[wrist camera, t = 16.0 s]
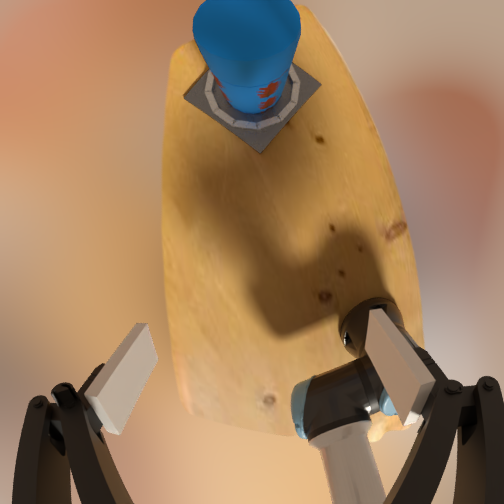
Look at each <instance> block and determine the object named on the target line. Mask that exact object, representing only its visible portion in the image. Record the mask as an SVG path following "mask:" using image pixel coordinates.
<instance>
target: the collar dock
mask: <svg viewBox="0 0 504 504" xmlns="http://www.w3.org/2000/svg"><path fill="white" fill-rule="evenodd" d="M321 85H322V84H320V83H319V82H318V81H317V80H315V79H314V78H313V77H311V76H310V75H309V74H307V73H306V72H305V71H303V70H302V69H301V68H299V67H298V66H297V65H295V64H294V63H292V64H291V67H290V70H289V73H288V76H287V80H286V83H285V86H284V89H283V92H282V94H281V97H280V98H279V100H278V101H277V102H276V104H275V105H274V106H273V107H272V108H270V109H268V110H266V111H265V112H261V113H256V114H250V113H243V112H241V111H239V110H237V109H235V108H233V107H232V106H231V105H230V104H229V103H228V101H227V100H226V99H225V98H224V96H223V94H222V92H221V90H220V88H219V86H218V84H217V82H216V80H215V78H214V76H213V75H212V73H211V71H210V69H209V70H208V71H207V72H206V73H205V74H204V75H203V76H202V77H201V78H200V80H199V81H198V82H197V83H196V84H195V85H194V87H193V88H192V89H191V90H190V91H189V92H188V94H187V95H186V96H185V97H184V99H185V100H187V101H188V102H190V103H191V104H193V105H194V106H195V107H197V108H198V109H200V110H201V111H203V112H204V113H206V114H207V115H209V116H210V117H211V118H213V119H214V120H216V121H217V122H218V123H220V124H221V125H223V126H224V127H225V128H227V129H228V130H229V131H231V132H232V133H234V134H235V135H236V136H238V137H239V138H240V139H242V140H243V141H244V142H246V143H247V144H248V145H250V146H251V147H252V148H253V149H255V150H256V151H257V152H259V153H260V154H261V152H262V151H263V150H264V149H265V148H266V147H267V145H268V144H269V143H270V142H271V141H272V139H273V138H274V137H275V136H276V135H277V134H278V133H279V131H280V130H281V129H282V128H283V127H284V126H285V124H286V123H287V122H288V121H289V120H290V119H291V118H292V117H293V115H294V114H295V113H296V112H297V111H298V110H299V109H300V108H301V107H302V105H303V104H304V103H305V102H306V101H307V100H308V99H309V98H310V97H311V96H312V94H313V93H314V92H315V91H316V90H317V89H318V88H319V87H320V86H321Z"/></svg>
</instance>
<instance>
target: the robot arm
mask: <svg viewBox="0 0 504 504" xmlns="http://www.w3.org/2000/svg"><path fill="white" fill-rule="evenodd" d="M341 339H342V342H343V344H344V347H345V348H346V350H347V351H348V352H349V353H350V354H351V355H353V356H354V357H355V358H356V360H354V361H351V362H349V363H347V364H344V365H342V366H339V367H337V368H334V369H332V370H329V371H327V372H324V373H322V374H319V375H314V376H312V377H311V378H309V379H307V380H305V381H302V382H300V383H298V384H297V385H296V386H295V387H294V389H293V391H292V395H291V412H292V419H293V422H294V423H295V429H296V432H297V434H298V436H299V437H301V438H302V439H308V441H309V445H310V446H312V447H314V448H316V449H318V450H319V451H320V454H321V458H322V461H323V466H324V470H325V474H326V478H327V482H328V487H329V491H330V494H331V499H332V503H333V504H431V502H432V500H433V497H434V495H435V493H436V491H437V488H438V486H439V483H440V481H441V478H442V475H443V472H444V470H445V467H446V464H447V461H448V458H449V455H450V451H451V449H452V445H453V441H454V438H455V434H456V430H458V431H457V432H458V433H457V435H458V436H457V438H458V447H457V448H458V451H457V471H456V472H457V473H456V483H455V492H454V500H453V504H504V402H503V398H502V393H501V390H500V386H499V383H498V381H497V380H496V379H495V378H492V377H490V376H484V377H481V378H480V379H479V380H478V382H477V384H476V385H474V386H463V385H462V384H461V383H460V382H458V381H455V380H448V378H447V377H446V376H445V374H444V373H443V372H442V370H441V369H440V368H439V366H438V365H437V364H436V363H435V361H434V360H433V359H432V358H431V356H430V355H429V354H428V352H427V351H425V350H424V349H422V348H421V347H419V346H418V345H417V344H416V342H415V341H414V340H413V339H412V337H411V336H410V335H409V334H408V332H407V331H406V330H405V327H404V322H403V318H402V314H401V312H400V310H399V309H398V308H397V307H396V305H395V304H394V303H393V302H391V301H390V300H388V299H384V298H373V299H369V300H366V301H364V302H362V303H360V304H359V305H357V306H356V307H355V308H353V309H352V310H351V311H350V313H349V314H348V315H347V316H346V318H345V320H344V322H343V324H342V327H341ZM157 361H158V357H157V354H156V351H155V347H154V344H153V341H152V338H151V334H150V331H149V327H148V324H147V323H136V325H135V326H134V327H133V328H132V330H131V331H130V332H129V334H128V335H127V336H126V338H125V339H124V340H123V342H122V343H121V344H120V345H119V347H118V348H117V350H116V351H115V352H114V353H113V355H112V356H111V357H110V359H109V360H108V361H107V363H106V364H103V363H102V364H101V365H99V366H98V367H97V368H95V369H94V371H93V372H92V373H91V375H90V376H89V377H88V380H86V381H85V383H84V384H83V385H82V387H81V388H80V390H79V391H78V392H76V391H75V389H74V387H73V385H72V384H70V383H66V382H65V383H60V384H58V385H56V386H55V387H54V388H53V389H52V391H51V395H52V397H53V398H54V400H55V402H56V403H50V402H49V401H48V399H47V398H46V397H45V396H42V395H40V396H36V397H34V398H33V399H32V400H31V401H30V403H29V405H28V408H27V412H26V416H25V420H24V424H23V428H22V432H21V437H20V442H19V447H18V453H17V459H16V465H15V473H14V482H13V494H12V504H72V503H71V485H70V468H71V472H72V475H73V479H74V482H75V485H76V489H77V492H78V495H79V498H80V501H81V503H82V504H134V503H133V501H132V500H131V497H130V496H129V494H128V492H127V490H126V488H125V486H124V484H123V482H122V479H121V477H120V475H119V473H118V471H117V469H116V466H115V464H114V462H113V459H112V457H111V454H110V452H109V449H108V447H107V444H106V441H105V439H104V436H103V433H102V432H101V430H100V429H101V427H102V425H103V426H104V427H105V429H106V430H107V432H110V433H113V434H117V435H121V433H122V430H123V428H124V426H125V424H126V422H127V420H128V418H129V416H130V414H131V412H132V410H133V408H134V406H135V404H136V402H137V400H138V398H139V396H140V394H141V392H142V390H143V388H144V386H145V384H146V382H147V380H148V378H149V376H150V374H151V372H152V370H153V369H154V367H155V365H156V363H157ZM379 411H381V412H382V413H384V414H385V415H388V416H392V415H398V416H399V418H400V420H401V422H402V425H403V426H405V425H409V424H412V423H414V422H417V421H418V419H419V417H420V415H421V414H422V416H423V418H424V420H423V422H422V425H421V426H420V428H419V430H418V435H417V437H416V440H415V442H414V444H413V447H412V449H411V452H410V453H409V456H408V458H407V460H406V462H405V464H404V466H403V468H402V470H401V472H400V474H399V476H398V478H397V480H396V482H395V483H394V485H393V487H392V489H391V491H390V493H389V494H388V496H387V497H386V495H385V492H384V488H383V485H382V482H381V478H380V475H379V472H378V468H377V465H376V462H375V459H374V456H373V452H372V449H371V446H370V443H369V440H368V437H367V433H368V431H369V429H370V427H371V426H372V421H371V419H370V415H372V414H374V413H377V412H379Z"/></svg>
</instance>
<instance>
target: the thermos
mask: <svg viewBox="0 0 504 504" xmlns="http://www.w3.org/2000/svg"><path fill="white" fill-rule="evenodd" d="M193 34H194V39H195V41H196V43H197V45H198V48H199V50H200V52H201V54H202V56H203V58H204V59H205V61H206V63H207V65H208V67H209V69H210V71H211V73H212V75H213V76H214V78H215V80H216V82H217V84H218V86H219V88H220V90H221V92H222V94H223V96H224V98H225V99H226V100H227V101H228V103H229V104H230V105H231V106H232V107H233V108H235V109H237V110H239V111H241V112H243V113H250V114H256V113H261V112H265V111H266V110H268V109H270V108H272V107H273V106H274V105H275V104H276V102H277V101H278V100H279V98H280V97H281V94H282V92H283V89H284V86H285V83H286V80H287V76H288V73H289V70H290V67H291V64H292V60H293V57H294V54H295V51H296V48H297V44H298V41H299V38H300V35H301V23H300V15H299V12H298V11H297V9H296V7H295V6H294V4H293V3H292V2H291V1H290V0H206V1H205V2H204V3H203V4H201V5H200V7H199V8H198V10H197V12H196V14H195V16H194V18H193Z"/></svg>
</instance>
